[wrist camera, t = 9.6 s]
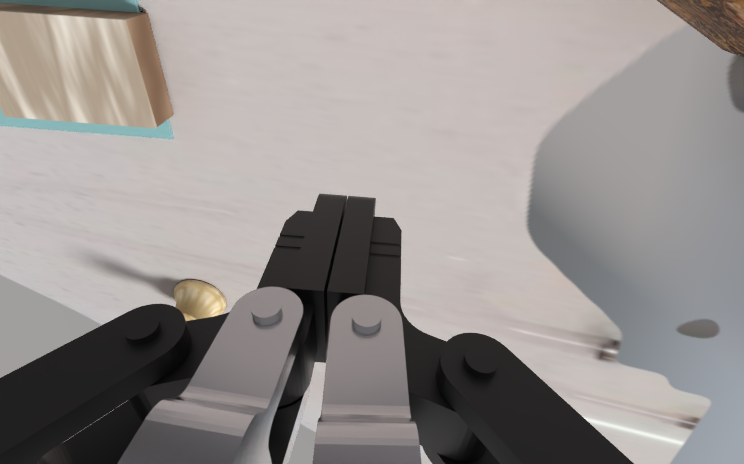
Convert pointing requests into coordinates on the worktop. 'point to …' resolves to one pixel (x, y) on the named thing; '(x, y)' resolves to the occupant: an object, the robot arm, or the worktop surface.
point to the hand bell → (198, 300)
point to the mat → (126, 3)
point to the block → (81, 66)
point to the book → (714, 20)
